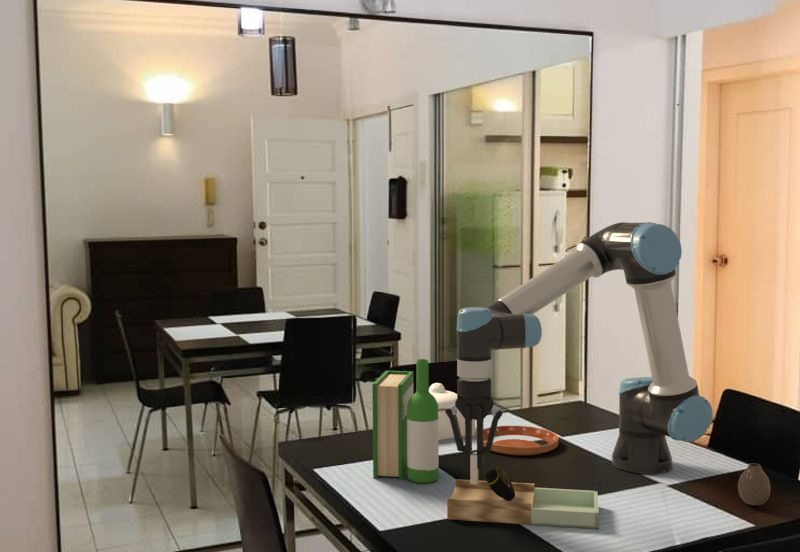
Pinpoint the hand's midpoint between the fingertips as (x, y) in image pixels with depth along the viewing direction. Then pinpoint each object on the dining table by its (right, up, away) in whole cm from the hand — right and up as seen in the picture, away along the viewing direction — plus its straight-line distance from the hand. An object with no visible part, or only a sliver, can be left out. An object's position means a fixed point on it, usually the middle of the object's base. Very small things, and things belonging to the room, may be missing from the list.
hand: (474, 482), depth 197 cm
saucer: (+16, -3, +52) cm, 54 cm away
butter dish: (-6, -2, +65) cm, 66 cm away
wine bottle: (-11, -5, +22) cm, 25 cm away
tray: (+20, -6, -4) cm, 21 cm away
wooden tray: (+4, -6, 0) cm, 7 cm away
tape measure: (+6, -4, -1) cm, 7 cm away
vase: (+64, -6, +4) cm, 64 cm away
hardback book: (-18, -4, +31) cm, 36 cm away
